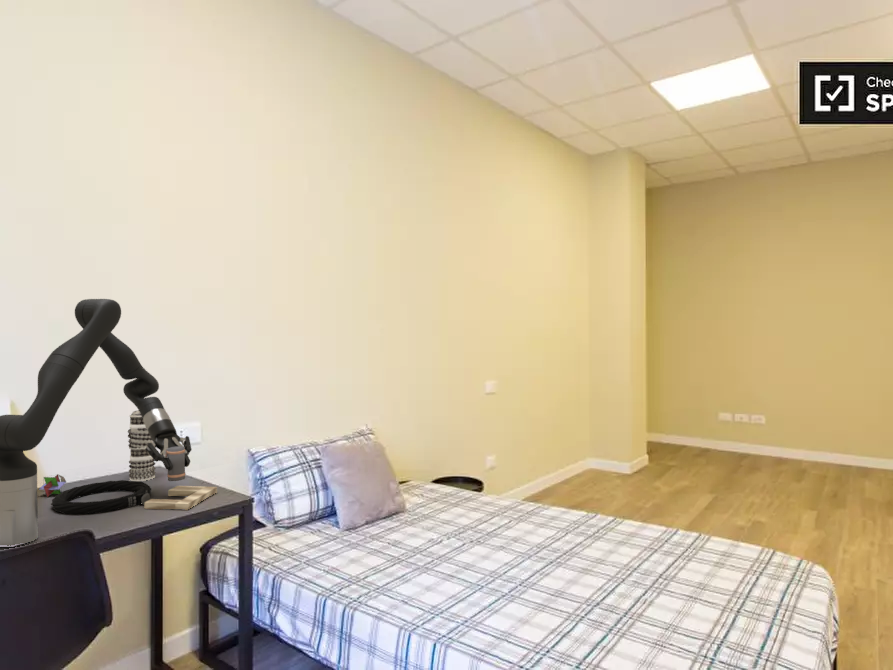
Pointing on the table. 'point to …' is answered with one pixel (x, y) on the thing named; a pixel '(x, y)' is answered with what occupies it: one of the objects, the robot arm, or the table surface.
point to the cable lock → (137, 498)
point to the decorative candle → (140, 450)
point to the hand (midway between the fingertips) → (179, 467)
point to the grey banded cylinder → (176, 463)
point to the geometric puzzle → (53, 485)
